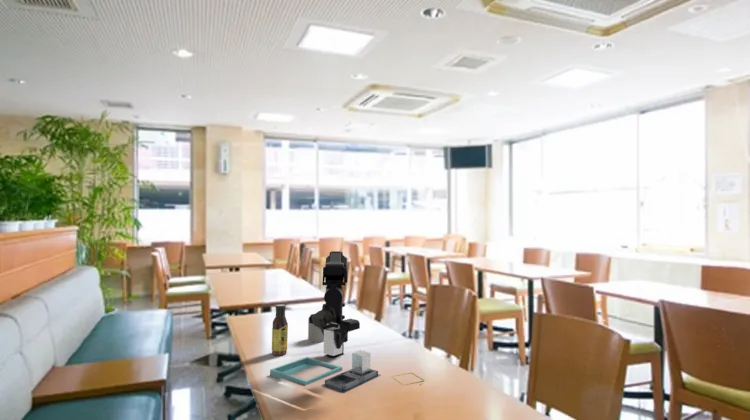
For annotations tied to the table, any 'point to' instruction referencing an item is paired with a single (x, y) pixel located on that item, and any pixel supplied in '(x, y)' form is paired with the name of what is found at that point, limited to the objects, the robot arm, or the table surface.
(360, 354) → the block
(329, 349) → the billet
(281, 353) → the sauce bottle
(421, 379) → the yellow square frame
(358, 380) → the dark grey tray
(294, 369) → the teal tray
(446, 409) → the table surface
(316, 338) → the cup
